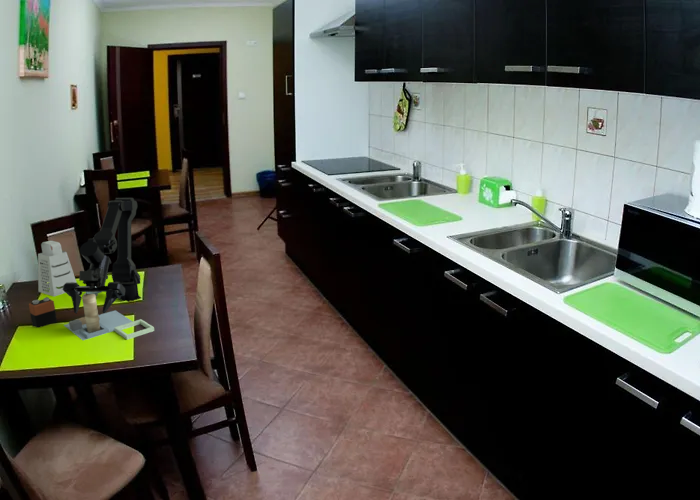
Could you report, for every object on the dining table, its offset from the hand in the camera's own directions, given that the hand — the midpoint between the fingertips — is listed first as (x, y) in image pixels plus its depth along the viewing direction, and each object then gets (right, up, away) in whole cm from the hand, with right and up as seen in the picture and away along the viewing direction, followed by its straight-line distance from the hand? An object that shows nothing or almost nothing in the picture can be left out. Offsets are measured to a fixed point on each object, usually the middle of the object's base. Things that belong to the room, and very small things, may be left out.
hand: (89, 313), depth 191 cm
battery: (-20, -6, +11) cm, 24 cm away
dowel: (0, -7, +3) cm, 8 cm away
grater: (-33, +4, +45) cm, 56 cm away
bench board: (-1, -6, +10) cm, 12 cm away
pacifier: (-16, +2, +39) cm, 43 cm away
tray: (+13, -8, +5) cm, 16 cm away
